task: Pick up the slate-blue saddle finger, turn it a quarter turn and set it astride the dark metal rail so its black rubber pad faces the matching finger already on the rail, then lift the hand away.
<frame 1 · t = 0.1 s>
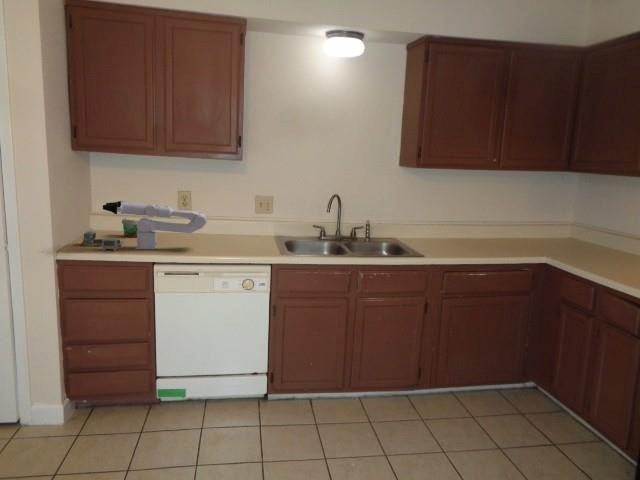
hand: (104, 206, 249), 22 cm above the worktop, tool horizontal, fingers open, 7 cm apart
saddle finger: (110, 249, 249), on the worktop
food container: (129, 237, 281), on the worktop
rail base: (102, 244, 258), on the worktop
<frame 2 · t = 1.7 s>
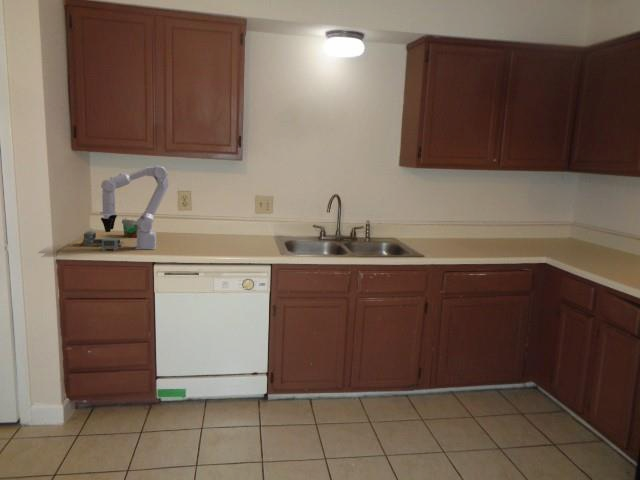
hand: (109, 230, 247), 10 cm above the worktop, tool pointing down, fingers open, 7 cm apart
nothing on the worktop moved.
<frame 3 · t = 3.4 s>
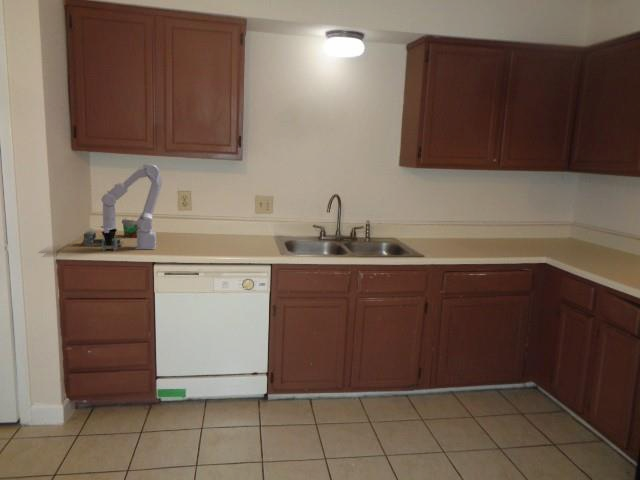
hand: (109, 244, 248), 3 cm above the worktop, tool pointing down, fingers closed on saddle finger, 4 cm apart
saddle finger: (110, 249, 249), on the worktop, touching gripper
everything else where it was.
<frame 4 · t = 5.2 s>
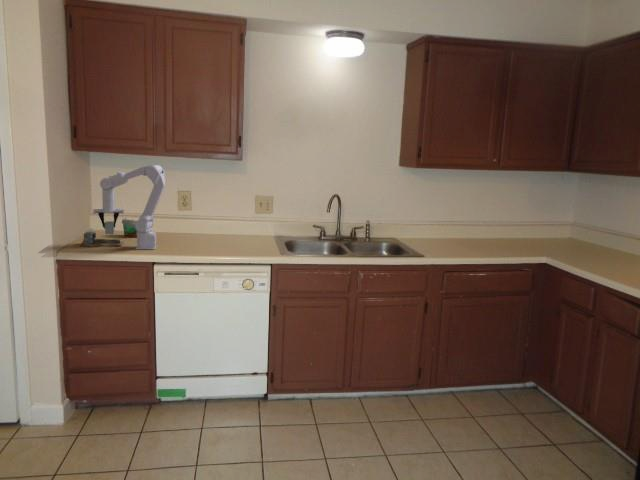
hand: (109, 227, 256), 10 cm above the worktop, tool pointing down, fingers closed on saddle finger, 4 cm apart
saddle finger: (109, 232, 256), point 7 cm above the worktop, touching gripper
everything else where it was.
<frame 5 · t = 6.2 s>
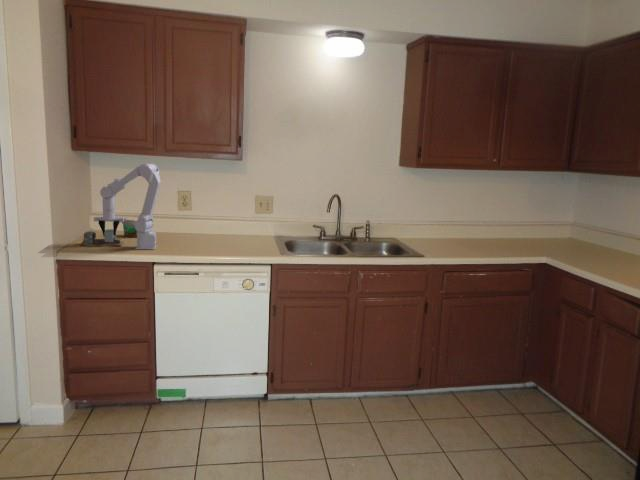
hand: (109, 235, 258), 5 cm above the worktop, tool pointing down, fingers closed on saddle finger, 4 cm apart
saddle finger: (110, 240, 259), point 2 cm above the worktop, touching gripper
everything else where it was.
when the fingers open (5 cm above the worktop, at t = 7.1 s): saddle finger drops 1 cm, resting on rail base.
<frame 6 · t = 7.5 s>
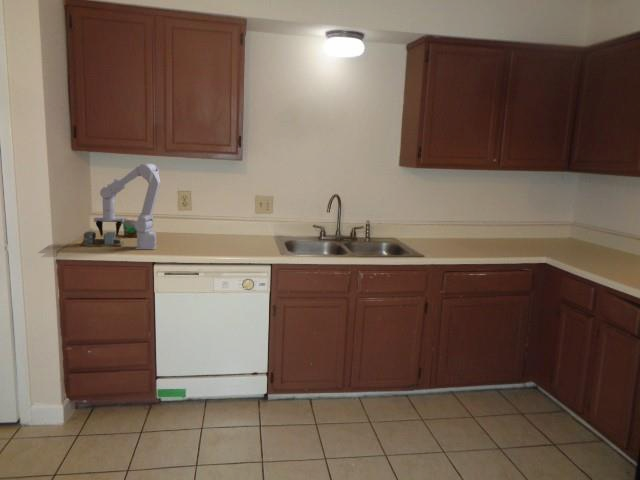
hand: (109, 235, 258), 5 cm above the worktop, tool pointing down, fingers open, 7 cm apart
saddle finger: (110, 243, 259), point 1 cm above the worktop, touching rail base
everything else where it was.
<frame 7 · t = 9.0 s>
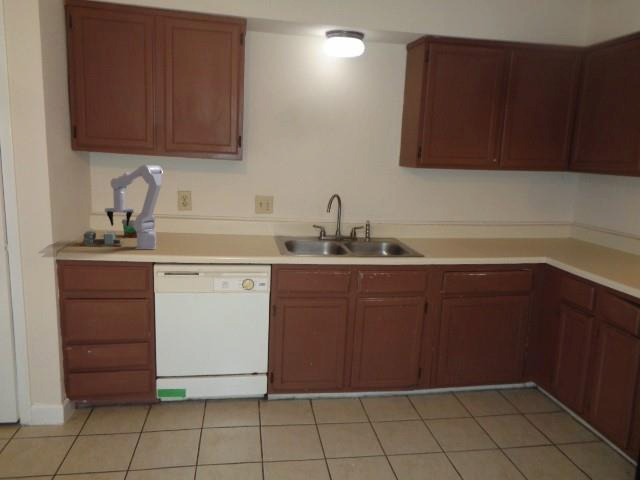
hand: (119, 225, 264), 9 cm above the worktop, tool pointing down, fingers open, 7 cm apart
nothing on the worktop moved.
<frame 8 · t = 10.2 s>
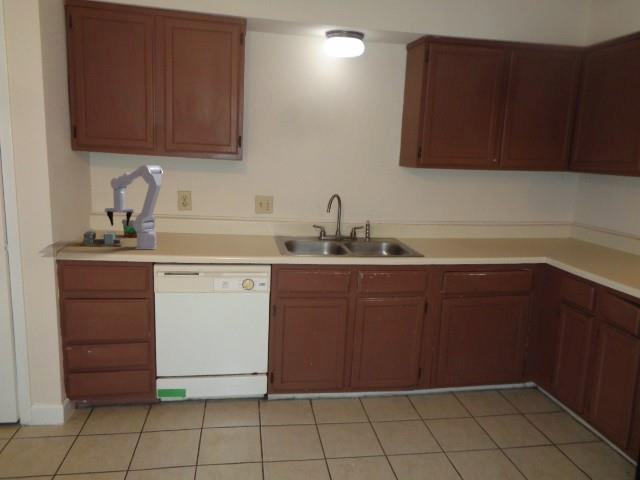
hand: (119, 225, 264), 9 cm above the worktop, tool pointing down, fingers open, 7 cm apart
nothing on the worktop moved.
at the end: saddle finger 0.0 cm from the target spot on the rail base, point 1.0 cm above the rail base's base; saddle finger tilted 0°; the gripper is holding nothing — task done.
